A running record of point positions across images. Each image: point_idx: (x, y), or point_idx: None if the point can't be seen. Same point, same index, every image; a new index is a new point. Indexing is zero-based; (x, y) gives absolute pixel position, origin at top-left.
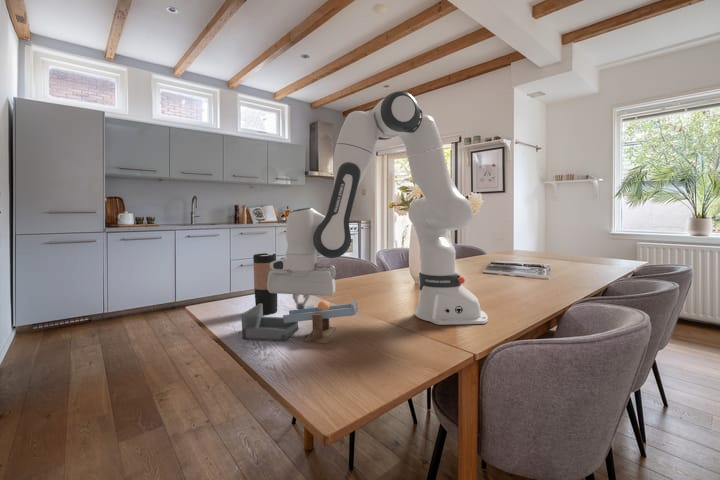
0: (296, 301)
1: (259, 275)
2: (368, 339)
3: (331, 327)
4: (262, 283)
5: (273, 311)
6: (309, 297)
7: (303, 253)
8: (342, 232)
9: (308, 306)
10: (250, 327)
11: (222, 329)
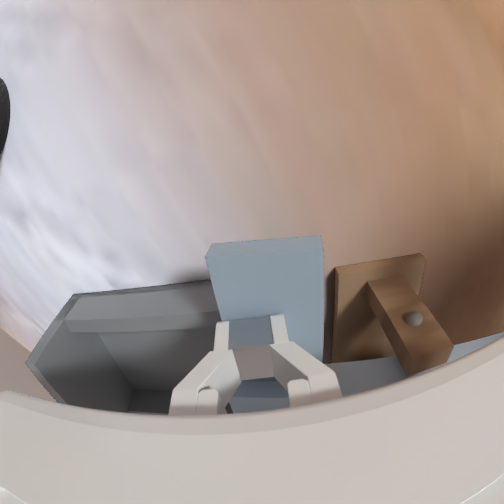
0: (225, 395)
1: None
2: (490, 299)
3: (408, 270)
4: None
5: (2, 126)
6: (331, 376)
7: None
8: None
9: (281, 268)
10: (119, 392)
11: (24, 333)
